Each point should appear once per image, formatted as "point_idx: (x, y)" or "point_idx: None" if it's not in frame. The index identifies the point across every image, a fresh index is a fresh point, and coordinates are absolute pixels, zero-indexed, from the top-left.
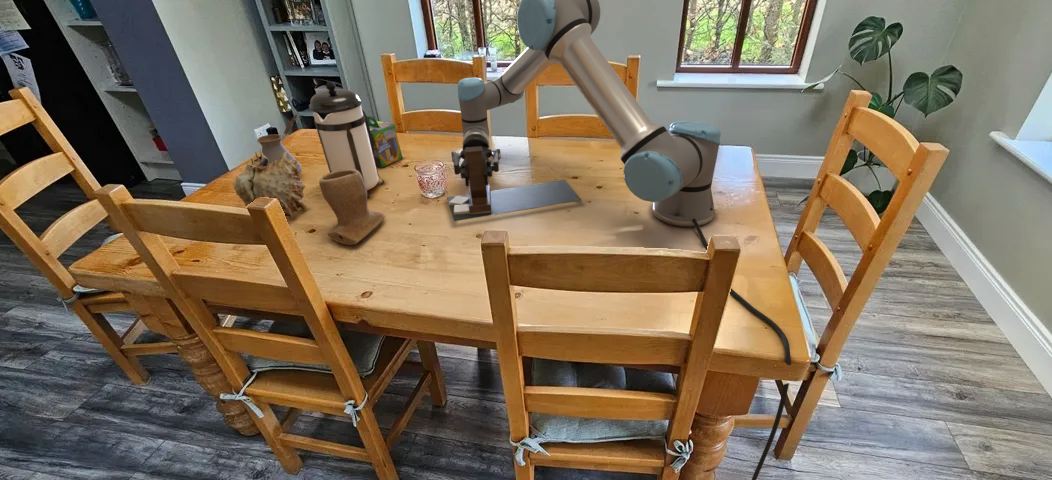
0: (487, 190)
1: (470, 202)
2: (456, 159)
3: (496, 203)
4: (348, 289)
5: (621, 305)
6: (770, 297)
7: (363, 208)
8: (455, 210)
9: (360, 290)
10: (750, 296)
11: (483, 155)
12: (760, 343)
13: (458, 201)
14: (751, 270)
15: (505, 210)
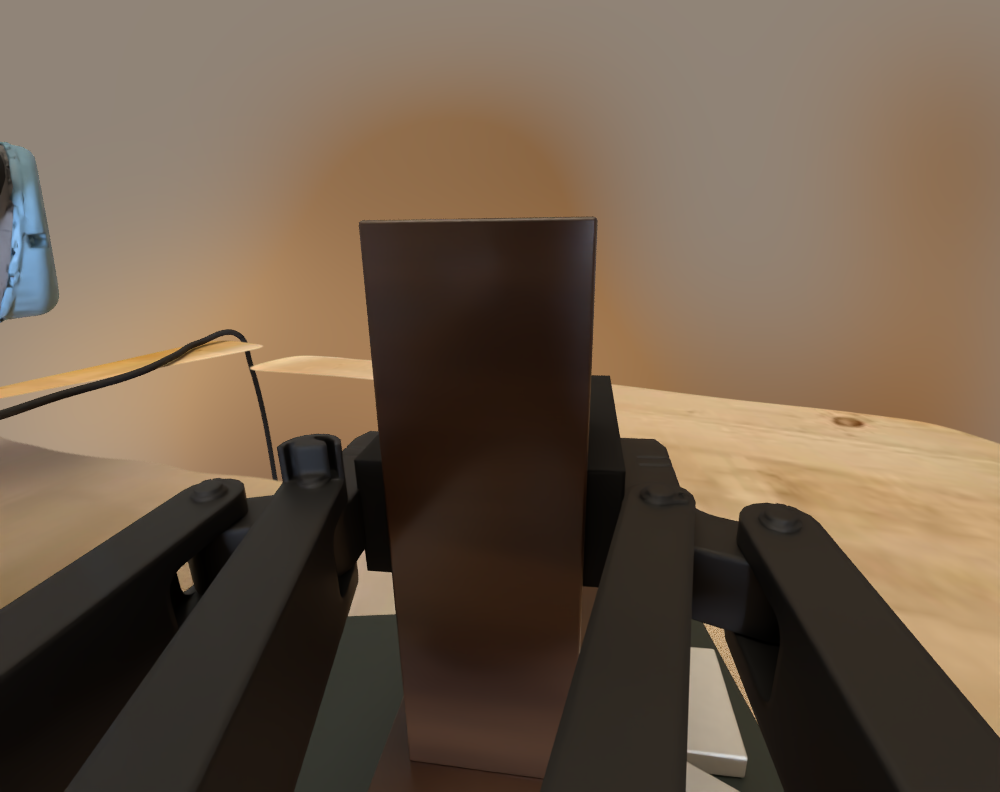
0: (392, 789)
1: (586, 620)
2: (902, 720)
3: (366, 749)
4: (920, 434)
5: (329, 373)
6: (119, 365)
7: None
8: (707, 663)
9: (878, 430)
10: (139, 367)
11: (140, 784)
12: (234, 344)
13: None
14: (45, 387)
15: (355, 636)
